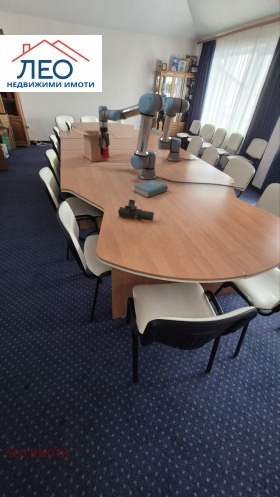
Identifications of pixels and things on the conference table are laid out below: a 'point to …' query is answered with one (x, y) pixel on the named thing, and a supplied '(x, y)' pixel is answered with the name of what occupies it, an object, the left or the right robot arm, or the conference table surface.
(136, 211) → the laser sight
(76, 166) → the conference table surface
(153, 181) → the book
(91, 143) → the box
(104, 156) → the canister
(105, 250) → the conference table surface
